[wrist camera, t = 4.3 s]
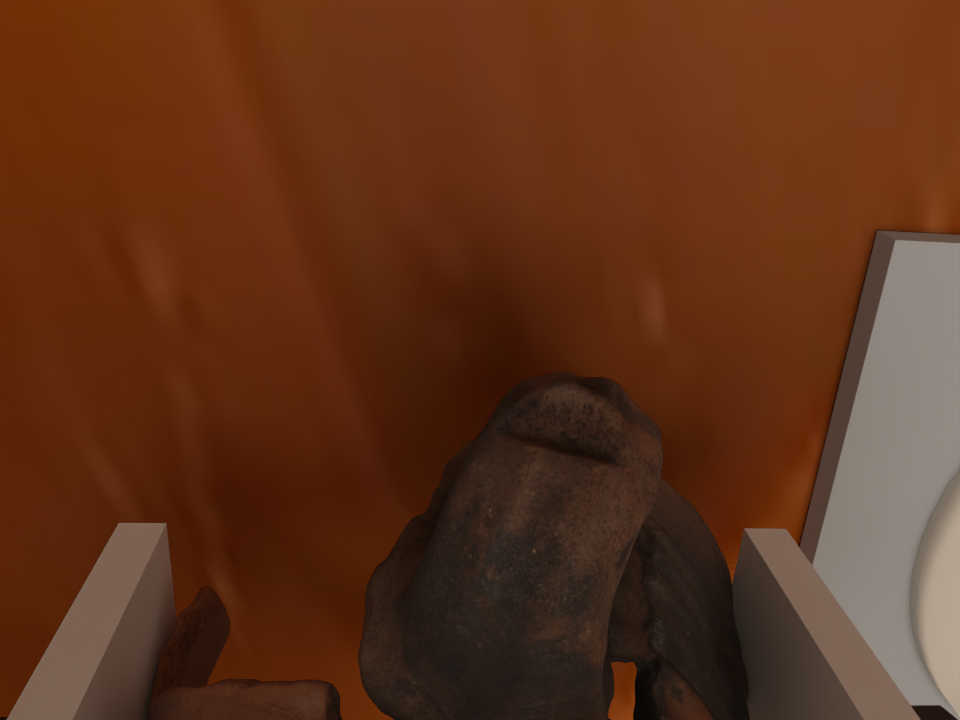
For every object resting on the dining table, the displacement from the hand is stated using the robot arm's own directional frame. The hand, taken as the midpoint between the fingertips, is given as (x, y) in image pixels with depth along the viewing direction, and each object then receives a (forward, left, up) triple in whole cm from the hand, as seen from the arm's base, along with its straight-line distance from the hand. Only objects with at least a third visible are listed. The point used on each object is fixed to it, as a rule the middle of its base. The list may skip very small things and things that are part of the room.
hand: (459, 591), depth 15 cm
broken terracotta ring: (0, 0, -1) cm, 1 cm away
